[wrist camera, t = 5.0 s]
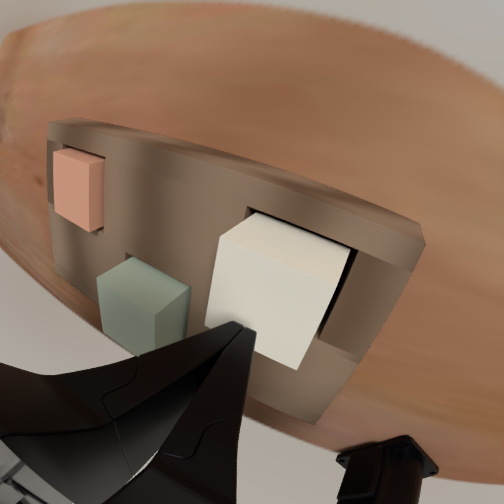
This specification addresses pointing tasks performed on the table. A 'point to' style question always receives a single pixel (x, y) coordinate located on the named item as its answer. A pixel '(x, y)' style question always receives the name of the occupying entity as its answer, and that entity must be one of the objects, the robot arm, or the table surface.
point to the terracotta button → (79, 187)
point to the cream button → (274, 284)
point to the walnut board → (219, 222)
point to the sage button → (142, 306)
